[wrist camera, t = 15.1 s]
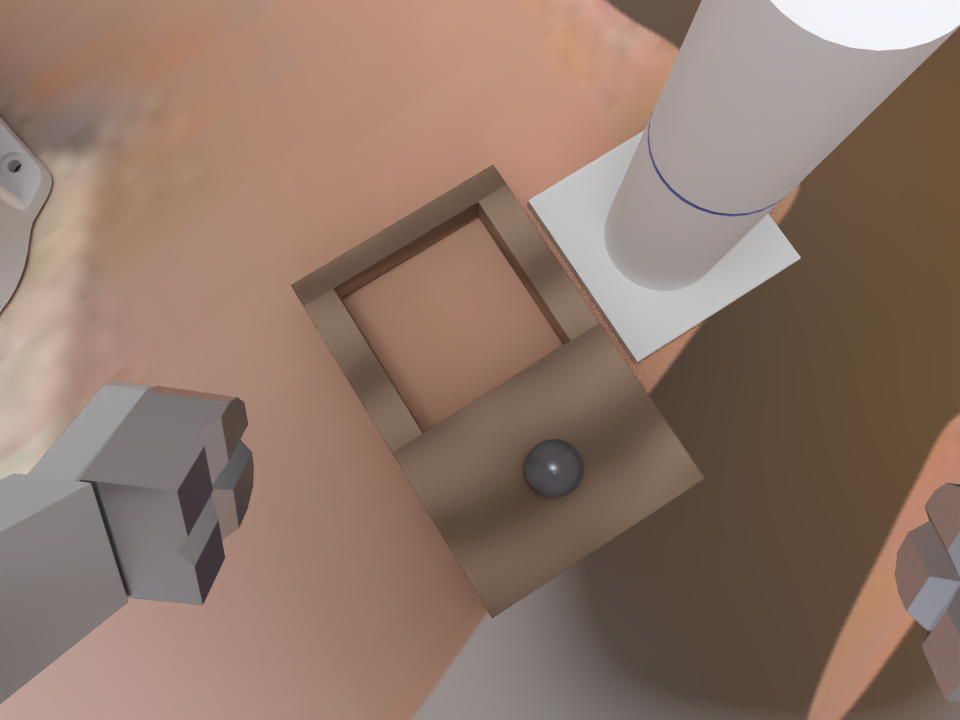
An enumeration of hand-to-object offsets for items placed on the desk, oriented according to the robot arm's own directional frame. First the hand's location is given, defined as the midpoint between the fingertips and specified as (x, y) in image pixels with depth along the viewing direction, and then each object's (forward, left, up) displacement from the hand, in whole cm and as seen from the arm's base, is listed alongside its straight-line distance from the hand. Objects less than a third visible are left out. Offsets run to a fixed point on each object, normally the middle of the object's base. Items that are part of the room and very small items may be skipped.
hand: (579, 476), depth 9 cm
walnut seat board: (-6, +2, -35) cm, 36 cm away
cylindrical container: (-8, +16, -35) cm, 39 cm away
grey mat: (-8, +16, -35) cm, 40 cm away
